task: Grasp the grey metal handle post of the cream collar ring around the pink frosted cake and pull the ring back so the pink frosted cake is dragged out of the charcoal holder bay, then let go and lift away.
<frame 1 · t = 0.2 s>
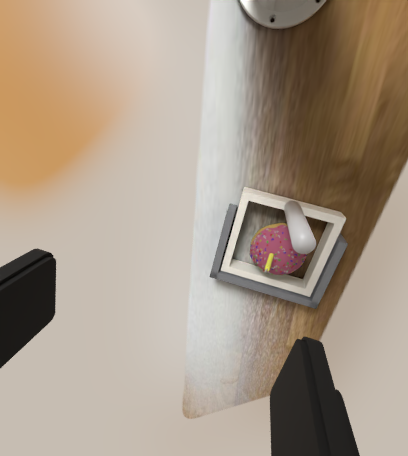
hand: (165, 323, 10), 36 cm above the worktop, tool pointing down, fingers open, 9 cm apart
collar: (280, 259, 38), point 8 cm above the worktop, slide at 0.0 cm
pink frosted cake: (277, 237, 46), resting in collar
holder bay: (272, 250, 47), on the worktop
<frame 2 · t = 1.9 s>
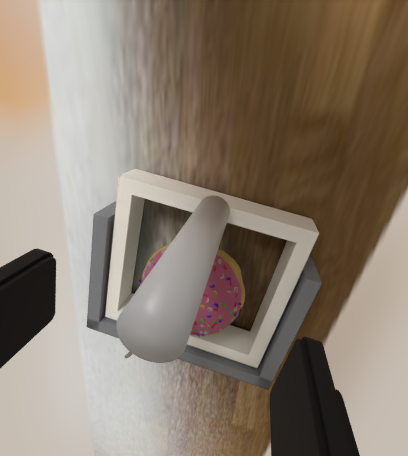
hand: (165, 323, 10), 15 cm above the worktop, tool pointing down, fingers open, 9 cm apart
collar: (180, 317, 18), point 8 cm above the worktop, slide at 0.0 cm
pink frosted cake: (203, 260, 26), resting in collar
holder bay: (197, 282, 27), on the worktop
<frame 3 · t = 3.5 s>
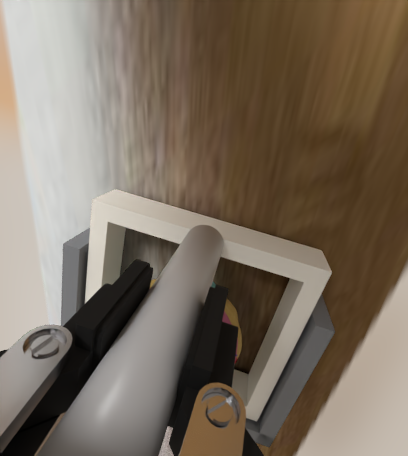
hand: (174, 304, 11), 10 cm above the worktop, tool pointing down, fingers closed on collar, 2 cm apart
collar: (161, 377, 15), point 8 cm above the worktop, slide at 0.0 cm, touching gripper
pink frosted cake: (194, 293, 23), resting in collar
holder bay: (188, 317, 23), on the worktop
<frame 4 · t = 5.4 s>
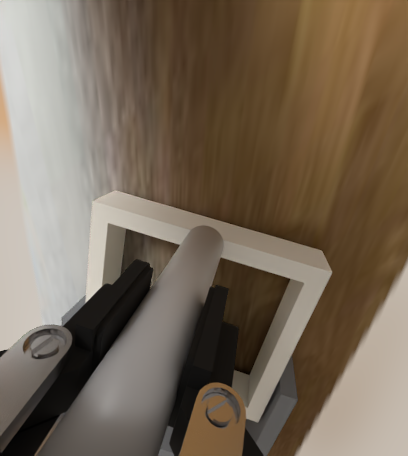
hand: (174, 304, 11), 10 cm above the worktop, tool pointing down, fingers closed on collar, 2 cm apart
collar: (161, 378, 15), point 8 cm above the worktop, slide at 6.5 cm, touching gripper
holder bay: (175, 369, 26), on the worktop
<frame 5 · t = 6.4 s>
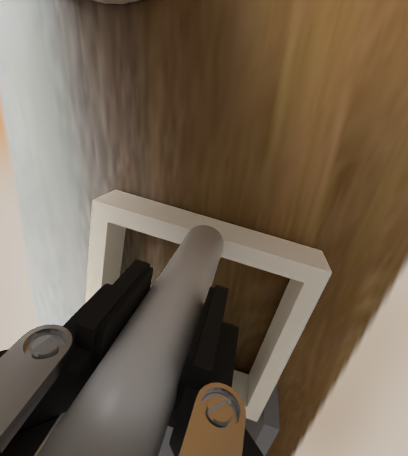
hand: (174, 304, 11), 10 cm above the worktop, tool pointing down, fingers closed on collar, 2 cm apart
collar: (161, 377, 15), point 8 cm above the worktop, slide at 10.0 cm, touching pink frosted cake, gripper
holder bay: (167, 392, 27), on the worktop
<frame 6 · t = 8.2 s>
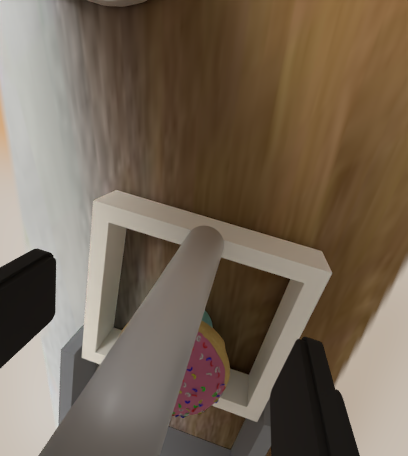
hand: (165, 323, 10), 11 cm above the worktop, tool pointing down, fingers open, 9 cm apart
collar: (161, 377, 15), point 8 cm above the worktop, slide at 10.0 cm, touching pink frosted cake
pink frosted cake: (187, 319, 24), resting in collar
holder bay: (168, 393, 27), on the worktop
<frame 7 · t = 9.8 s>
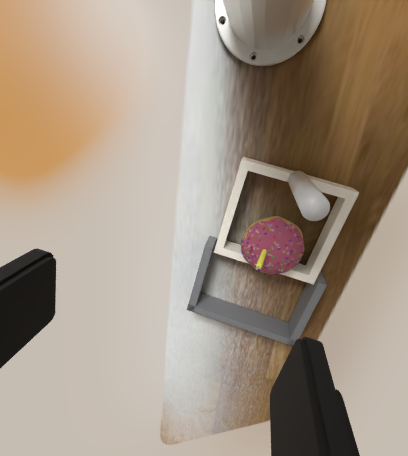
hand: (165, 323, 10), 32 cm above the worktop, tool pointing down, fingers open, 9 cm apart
collar: (282, 236, 33), point 8 cm above the worktop, slide at 10.0 cm, touching pink frosted cake
pink frosted cake: (271, 233, 42), resting in collar
holder bay: (252, 284, 46), on the worktop
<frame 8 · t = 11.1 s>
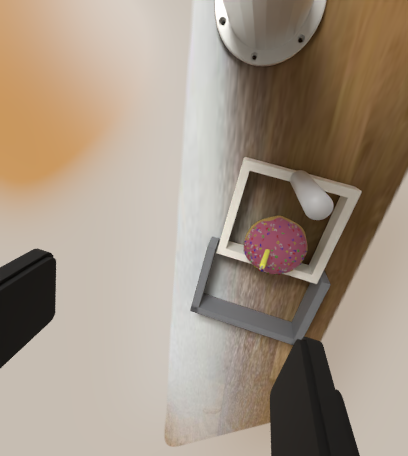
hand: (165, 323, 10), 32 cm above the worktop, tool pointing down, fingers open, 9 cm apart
collar: (285, 236, 33), point 8 cm above the worktop, slide at 10.0 cm, touching pink frosted cake
pink frosted cake: (273, 233, 42), resting in collar
holder bay: (255, 284, 45), on the worktop
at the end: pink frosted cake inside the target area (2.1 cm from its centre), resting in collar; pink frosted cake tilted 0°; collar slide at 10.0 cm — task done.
